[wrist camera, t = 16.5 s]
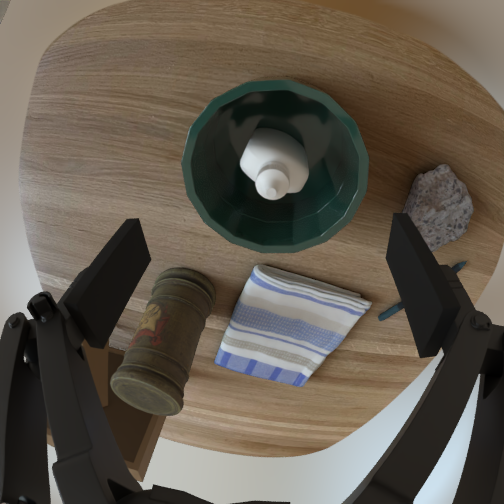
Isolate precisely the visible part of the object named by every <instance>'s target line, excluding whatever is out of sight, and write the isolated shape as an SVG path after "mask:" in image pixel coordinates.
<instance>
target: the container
mask: <svg viewBox="0 0 504 504" xmlns="http://www.w3.org/2000/svg"><path fill="white" fill-rule="evenodd" d="M151 295H152V297H151V299H150V301H149V302H148V304H147V307H146V311H145V313H144V315H143V317H142V319H141V322H140V324H139V326H138V328H137V330H136V332H135V335H134V337H133V339H132V341H131V343H130V345H129V348H128V350H127V351H126V352H125V354H124V360H123V363H122V364H121V366H119V367H118V369H117V372H115V373H114V374H113V375H112V377H111V382H110V383H111V388H112V390H113V391H114V393H115V394H116V395H117V396H118V397H119V398H121V399H122V400H123V401H125V402H126V403H128V404H129V405H131V406H133V407H135V408H137V409H139V410H142V411H144V412H147V413H151V414H155V415H161V416H173V415H176V414H178V413H179V412H180V411H181V410H182V408H183V405H184V402H183V397H184V387H185V384H186V382H187V381H188V379H189V372H190V368H191V365H192V362H193V358H194V355H195V351H196V348H197V345H198V341H199V338H200V335H201V332H202V331H203V329H204V327H205V322H206V318H207V317H208V316H209V315H210V314H211V312H212V308H213V306H214V304H215V298H216V296H215V290H214V287H213V286H212V284H211V283H210V282H209V280H207V279H206V278H205V277H204V276H203V275H201V274H199V273H197V272H195V271H193V270H189V269H185V268H172V269H168V270H166V271H164V272H163V273H161V274H160V275H159V276H158V278H157V279H156V281H155V284H154V287H153V289H152V293H151Z"/></svg>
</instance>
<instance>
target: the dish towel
mask: <svg viewBox="0 0 504 504" xmlns="http://www.w3.org/2000/svg"><path fill="white" fill-rule="evenodd" d="M371 304H372V302H371V301H367V300H365V299H363V298H360V294H359V293H354V292H351V291H349V290H344V289H341V288H339V287H336V286H333V285H330V284H327V283H324V282H320V281H317V280H314V279H310V278H307V277H304V276H300V275H297V274H294V273H290V272H286V271H283V270H280V269H277V268H273V267H269V266H266V265H262V264H258V265H256V266H255V267H254V269H253V271H252V273H251V276H250V278H249V279H248V281H247V282H246V285H245V287H244V289H243V291H242V293H241V295H240V297H239V299H238V301H237V303H236V305H235V308H234V311H233V314H232V316H231V320H230V323H229V325H228V328H227V330H226V331H225V333H224V336H223V339H222V343H221V346H220V348H219V351H218V353H217V356H216V358H215V361H214V363H215V364H217V365H219V366H222V367H225V368H227V369H230V370H233V371H236V372H240V373H243V374H247V375H251V376H255V377H259V378H263V379H268V380H273V381H277V382H281V383H286V384H290V385H294V386H298V387H303V386H304V385H305V383H306V382H307V380H308V379H309V377H310V376H311V375H312V373H313V372H314V371H315V370H316V369H317V368H319V367H320V366H321V364H322V363H323V361H324V360H325V358H326V356H327V355H328V354H329V353H330V352H332V351H333V350H335V349H336V347H338V345H339V344H340V343H341V342H342V341H343V339H344V338H345V337H346V335H347V334H348V332H349V331H350V330H351V328H352V327H353V326H354V324H355V323H356V322H357V321H358V319H359V318H360V317H361V316H362V315H363V314H365V312H366V311H367V310H368V309H369V308H370V307H371V306H370V305H371Z"/></svg>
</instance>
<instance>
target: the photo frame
mask: <svg viewBox="0 0 504 504" xmlns="http://www.w3.org/2000/svg"><path fill="white" fill-rule="evenodd" d="M82 346H83V347H84V349H85V353H86V356H87V360H88V363H89V367H90V370H91V374H92V377H93V380H94V383H95V386H96V389H97V392H98V395H99V398H100V401H101V404H102V407H103V410H104V412H105V415H106V418H107V420H108V423H109V426H110V428H111V431H112V433H113V436H114V438H115V440H116V443H117V445H118V447H119V450H120V452H121V454H122V456H123V459H124V461H125V463H126V465H127V467H128V469H129V471H130V473H131V474H132V476H133V477H134V478H135V479H136V480H137V481H140V482H143V479H144V477H145V474H146V471H147V468H148V465H149V463H150V460H151V457H152V454H153V452H154V449H155V446H156V443H157V440H158V438H159V435H160V432H161V429H162V427H163V424H164V421H165V419H166V416H161V415H155V414H151V413H147V412H144V411H142V410H139V409H137V408H135V407H133V406H131V405H129V404H128V403H126V402H125V401H123V400H122V399H121V398H119V397H118V396H117V395H116V394H115V393H114V391H113V390H112V388H111V383H110V382H111V377H112V375H113V374H114V373H115V372H117V369H118V367H119V366H121V364H122V363H123V360H124V354H125V352H126V351H122V350H118V349H115V348H111V347H109V339H108V341H107V343H106V345H105V347H104V349H98V348H93V347H90V346H89V344H88V343H87V341H86V340H85V339H84V341H83V342H82ZM47 444H49V445H51V446H53V447H54V443H53V439H52V435H51V430H50V426H49V422H48V417H47Z"/></svg>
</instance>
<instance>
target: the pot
mask: <svg viewBox="0 0 504 504" xmlns="http://www.w3.org/2000/svg"><path fill="white" fill-rule="evenodd" d="M257 128H271V129H275V130H279V131H282V132H284V133H286V134H288V135H290V136H291V137H293V138H294V139H296V140H297V141H298V142H299V143H300V144H301V145H302V146H303V147H304V149H305V152H306V157H307V162H308V168H309V175H308V179H307V181H306V183H305V184H304V186H303V188H302V189H301V190H300V191H299V192H296V193H286V194H285V195H284V196H283V197H281V198H280V199H276V200H269V199H266V198H264V197H263V196H261V195H260V194H259V193H258V191H257V188H256V185H255V184H256V183H255V181H253V180H252V179H251V178H250V177H249V176H248V175H247V174H246V173H245V172H244V171H243V170H242V169H241V166H240V160H241V158H242V155H243V153H244V151H245V149H246V146H247V144H248V142H249V140H250V138H251V136H252V134H253V132H254V131H255V130H256V129H257ZM181 165H182V171H183V177H184V182H185V188H186V193H187V196H188V198H189V199H190V201H191V203H192V204H193V206H194V207H195V209H196V210H197V212H198V214H199V215H200V217H201V218H202V220H203V221H204V223H205V224H207V225H208V226H209V227H211V228H212V229H213V230H214V231H216V232H217V233H218V234H220V235H221V236H222V237H224V238H225V239H226V240H228V241H229V242H231V243H233V244H236V245H239V246H242V247H245V248H248V249H251V250H254V251H257V252H260V253H296V252H299V251H302V250H305V249H307V248H310V247H313V246H316V245H319V244H322V243H324V242H327V241H328V240H329V239H330V238H331V237H333V236H334V235H335V234H336V233H337V232H339V231H340V230H341V229H342V228H343V227H345V226H346V225H347V224H348V223H349V222H351V220H352V219H353V217H354V215H355V213H356V211H357V209H358V207H359V205H360V204H361V202H362V200H363V198H364V196H365V194H366V192H367V183H368V169H369V155H368V152H367V149H366V147H365V144H364V141H363V139H362V136H361V133H360V131H359V128H358V126H357V123H356V122H355V120H354V119H353V118H352V117H351V116H350V115H349V114H348V113H347V112H346V111H345V110H344V109H343V108H342V107H341V106H340V105H339V104H338V103H337V102H336V101H335V100H334V99H332V98H331V97H330V96H329V95H328V94H327V93H325V92H324V91H322V90H321V89H319V88H318V87H316V86H314V85H311V84H309V83H306V82H303V81H301V80H298V79H295V78H292V77H289V76H280V77H260V78H256V79H253V80H251V81H248V82H246V83H244V84H241V85H239V86H237V87H235V88H233V89H231V90H229V91H227V92H226V93H224V94H222V95H220V96H218V97H216V98H214V99H213V100H211V102H210V103H209V104H208V105H207V107H206V108H205V109H204V110H203V111H202V113H201V114H200V115H199V117H198V118H197V119H196V120H195V122H194V123H193V124H192V125H191V127H190V128H189V132H188V135H187V139H186V144H185V148H184V152H183V156H182V160H181Z"/></svg>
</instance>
